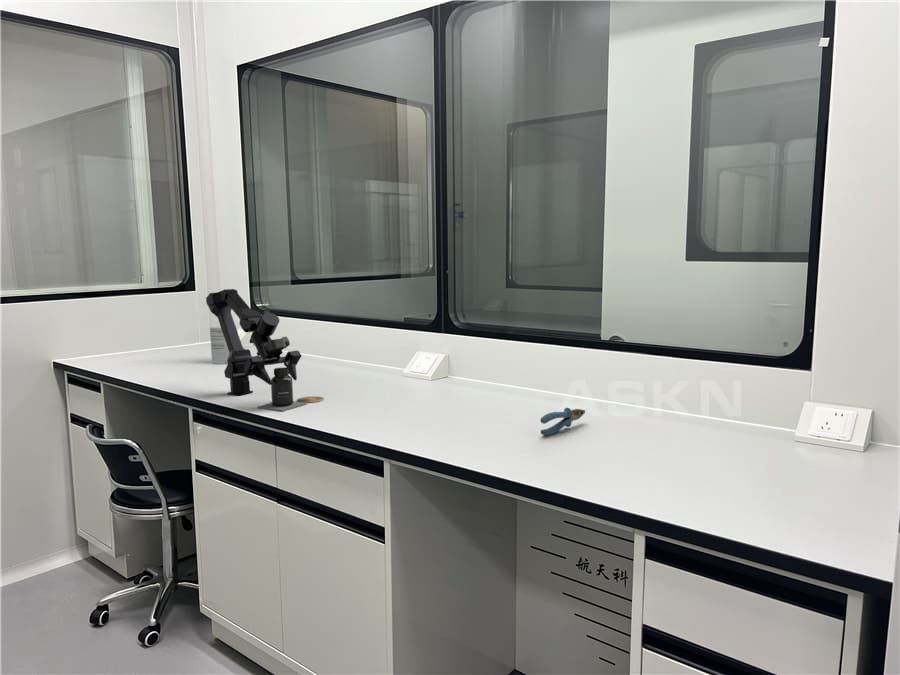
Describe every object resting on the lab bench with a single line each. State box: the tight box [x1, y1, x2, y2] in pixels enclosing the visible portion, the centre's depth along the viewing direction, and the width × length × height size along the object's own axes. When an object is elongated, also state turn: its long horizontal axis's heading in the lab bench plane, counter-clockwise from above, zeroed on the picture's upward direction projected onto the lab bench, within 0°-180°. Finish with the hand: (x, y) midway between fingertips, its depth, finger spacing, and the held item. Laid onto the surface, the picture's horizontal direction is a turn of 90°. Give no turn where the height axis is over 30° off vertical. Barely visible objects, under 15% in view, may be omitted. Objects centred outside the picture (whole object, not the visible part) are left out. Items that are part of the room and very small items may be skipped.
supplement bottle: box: [270, 367, 294, 407], centre depth 219 cm, size 7×7×12 cm
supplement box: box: [209, 324, 239, 365], centre depth 305 cm, size 10×9×17 cm
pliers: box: [540, 407, 586, 436], centre depth 187 cm, size 20×2×6 cm, turn 135°
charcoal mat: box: [257, 400, 308, 413], centre depth 220 cm, size 11×11×1 cm
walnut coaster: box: [296, 395, 325, 404], centre depth 228 cm, size 9×9×1 cm
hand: (283, 381), depth 218 cm, fingers open, 9 cm apart
